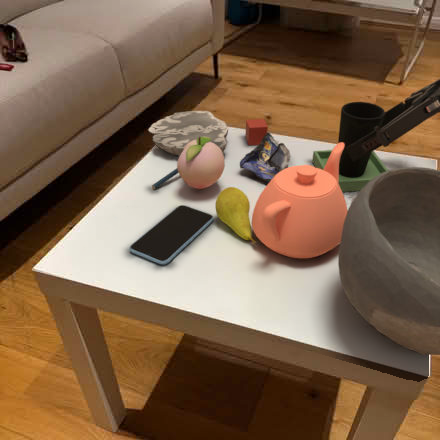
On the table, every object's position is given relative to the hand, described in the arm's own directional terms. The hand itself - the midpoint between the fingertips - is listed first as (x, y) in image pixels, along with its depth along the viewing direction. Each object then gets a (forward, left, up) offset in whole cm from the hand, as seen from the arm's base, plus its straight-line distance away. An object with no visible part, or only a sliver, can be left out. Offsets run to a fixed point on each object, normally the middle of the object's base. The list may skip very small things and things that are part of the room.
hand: (363, 140), depth 86 cm
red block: (+17, -17, -7) cm, 25 cm away
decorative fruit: (+30, +2, -7) cm, 31 cm away
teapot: (+16, +18, -7) cm, 25 cm away
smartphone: (+37, +16, -7) cm, 40 cm away
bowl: (+7, +37, -7) cm, 38 cm away
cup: (+1, -1, -7) cm, 7 cm away
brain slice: (+31, -17, -8) cm, 37 cm away
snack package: (+16, -4, -7) cm, 18 cm away
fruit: (+27, +10, -3) cm, 29 cm away
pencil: (+40, +1, -7) cm, 40 cm away
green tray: (+1, 0, -7) cm, 7 cm away
